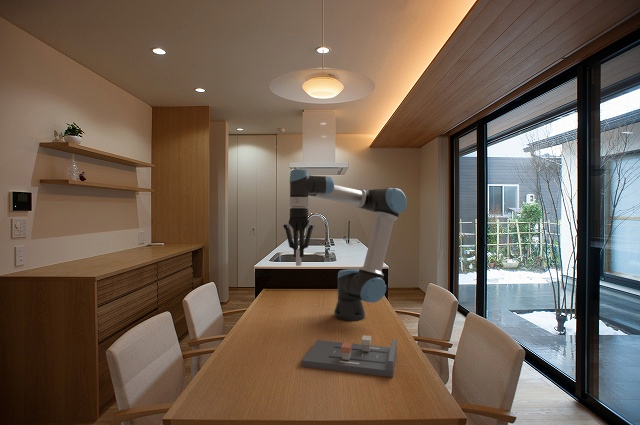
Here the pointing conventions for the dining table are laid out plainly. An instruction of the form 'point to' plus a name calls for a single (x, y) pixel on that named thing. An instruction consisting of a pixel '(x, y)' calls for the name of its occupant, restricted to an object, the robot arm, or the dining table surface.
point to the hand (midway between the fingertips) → (298, 265)
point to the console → (352, 358)
